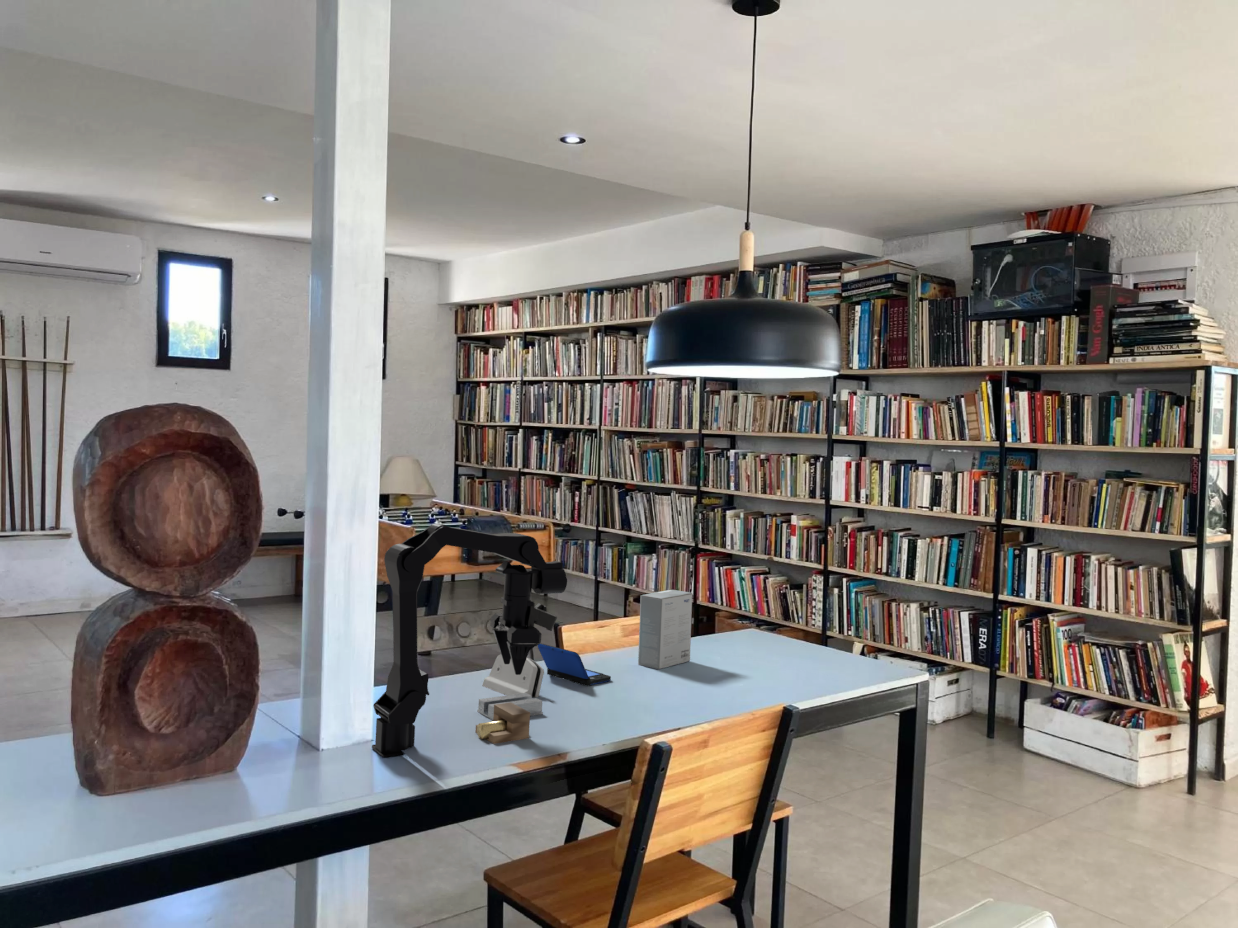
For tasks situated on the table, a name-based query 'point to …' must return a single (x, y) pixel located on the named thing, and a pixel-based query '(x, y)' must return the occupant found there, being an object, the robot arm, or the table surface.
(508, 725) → the brown notched block
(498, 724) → the axle
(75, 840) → the table surface
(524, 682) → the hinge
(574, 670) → the handheld game console
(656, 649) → the hard drive box
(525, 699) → the v block
